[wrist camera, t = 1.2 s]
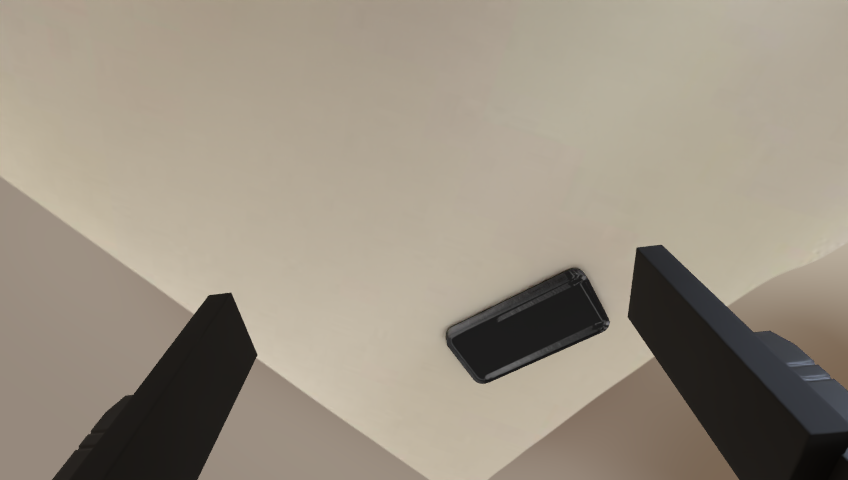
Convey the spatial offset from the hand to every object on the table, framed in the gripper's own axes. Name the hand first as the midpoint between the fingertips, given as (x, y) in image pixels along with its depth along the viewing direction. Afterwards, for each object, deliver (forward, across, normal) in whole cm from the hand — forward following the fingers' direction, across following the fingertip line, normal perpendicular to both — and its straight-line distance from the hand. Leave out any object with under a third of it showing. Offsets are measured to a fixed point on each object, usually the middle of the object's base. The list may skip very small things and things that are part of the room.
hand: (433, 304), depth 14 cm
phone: (+22, +8, -20) cm, 31 cm away
